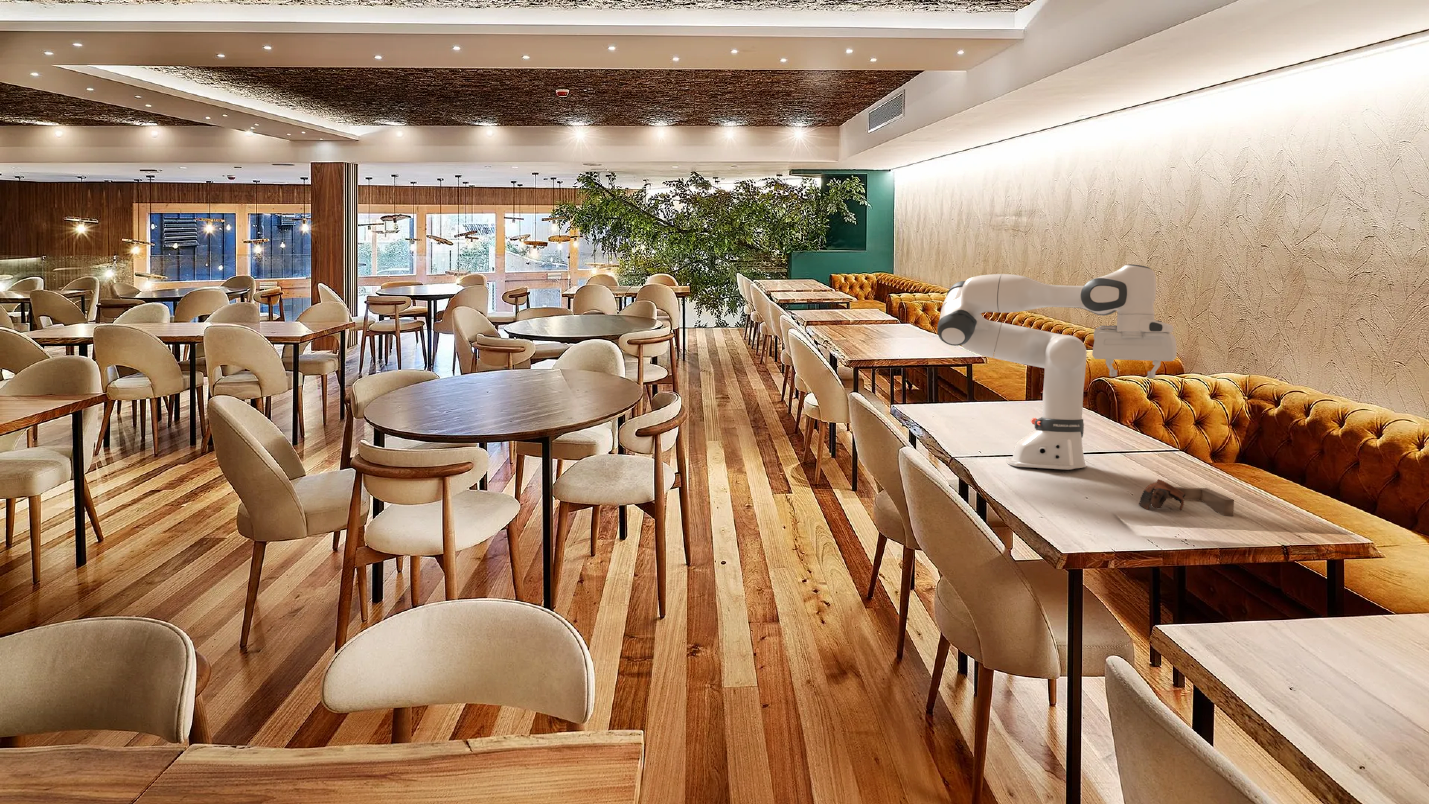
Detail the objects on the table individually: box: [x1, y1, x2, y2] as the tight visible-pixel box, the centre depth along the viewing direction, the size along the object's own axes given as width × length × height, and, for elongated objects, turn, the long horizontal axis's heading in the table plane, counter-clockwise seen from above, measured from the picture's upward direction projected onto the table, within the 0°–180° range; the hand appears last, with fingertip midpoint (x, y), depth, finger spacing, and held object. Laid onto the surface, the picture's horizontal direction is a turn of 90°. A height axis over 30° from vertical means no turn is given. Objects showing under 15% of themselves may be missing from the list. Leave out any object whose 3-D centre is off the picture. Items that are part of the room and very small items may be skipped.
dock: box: [1153, 486, 1235, 517], centre depth 207 cm, size 13×16×4 cm
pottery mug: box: [1138, 479, 1185, 511], centre depth 205 cm, size 12×9×8 cm
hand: (1131, 377), depth 218 cm, fingers open, 8 cm apart
